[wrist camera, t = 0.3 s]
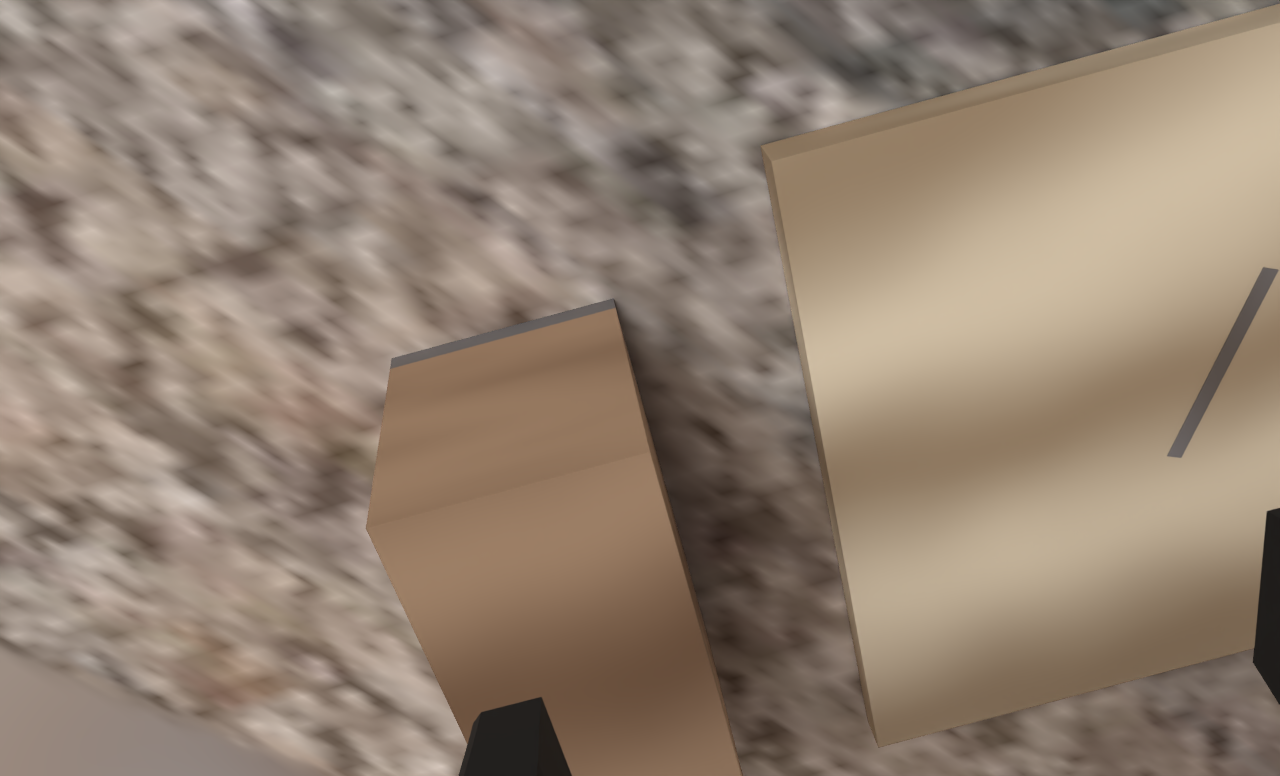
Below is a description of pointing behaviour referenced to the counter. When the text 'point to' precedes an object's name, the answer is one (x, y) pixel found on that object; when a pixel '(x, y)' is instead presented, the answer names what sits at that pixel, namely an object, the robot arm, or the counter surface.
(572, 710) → the sanding block
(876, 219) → the board
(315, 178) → the counter surface
